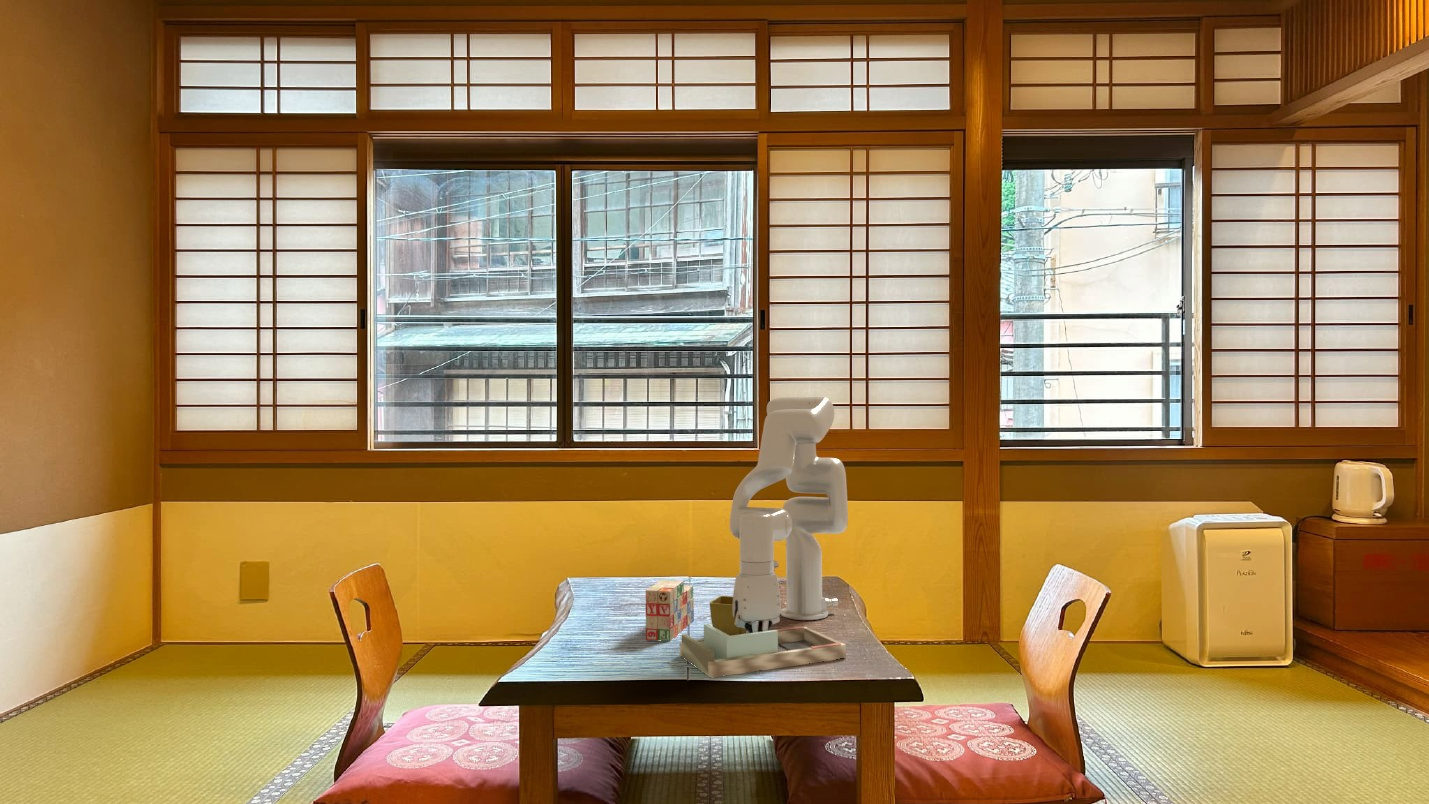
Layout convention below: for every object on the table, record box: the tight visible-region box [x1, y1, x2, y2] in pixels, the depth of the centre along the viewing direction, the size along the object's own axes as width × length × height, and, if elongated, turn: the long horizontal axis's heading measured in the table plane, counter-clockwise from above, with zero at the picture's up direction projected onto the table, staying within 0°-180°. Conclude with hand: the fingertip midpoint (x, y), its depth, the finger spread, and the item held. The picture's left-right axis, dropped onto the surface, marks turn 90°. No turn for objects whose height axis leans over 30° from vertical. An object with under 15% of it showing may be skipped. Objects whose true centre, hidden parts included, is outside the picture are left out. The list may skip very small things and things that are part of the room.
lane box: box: [679, 626, 847, 678], centre depth 183 cm, size 32×17×5 cm, turn 114°
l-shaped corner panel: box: [703, 623, 779, 660], centre depth 180 cm, size 12×12×8 cm
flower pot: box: [709, 595, 748, 636], centre depth 200 cm, size 9×9×9 cm
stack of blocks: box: [645, 579, 695, 642], centre depth 208 cm, size 21×6×12 cm, turn 166°
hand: (757, 651), depth 183 cm, fingers closed
